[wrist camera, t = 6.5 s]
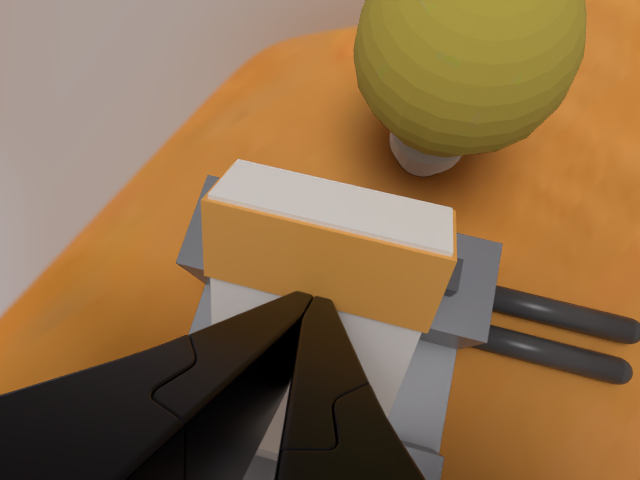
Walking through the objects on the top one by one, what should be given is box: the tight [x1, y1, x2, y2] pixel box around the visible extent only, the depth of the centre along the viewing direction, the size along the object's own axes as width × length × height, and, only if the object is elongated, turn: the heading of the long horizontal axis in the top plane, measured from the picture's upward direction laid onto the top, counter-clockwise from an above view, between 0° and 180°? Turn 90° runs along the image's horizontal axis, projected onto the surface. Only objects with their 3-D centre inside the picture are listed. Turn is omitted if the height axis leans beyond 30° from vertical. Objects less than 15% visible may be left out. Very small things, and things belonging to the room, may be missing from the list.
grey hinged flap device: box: [176, 175, 640, 480], centre depth 14 cm, size 13×17×5 cm
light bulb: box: [354, 0, 587, 177], centre depth 16 cm, size 7×7×10 cm
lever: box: [201, 159, 457, 454], centre depth 12 cm, size 2×5×9 cm
